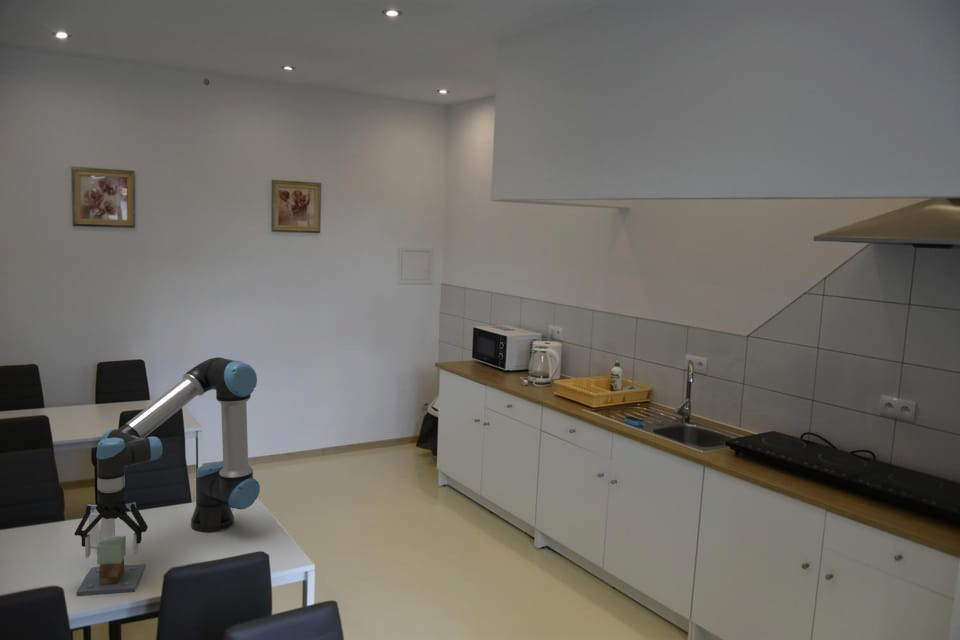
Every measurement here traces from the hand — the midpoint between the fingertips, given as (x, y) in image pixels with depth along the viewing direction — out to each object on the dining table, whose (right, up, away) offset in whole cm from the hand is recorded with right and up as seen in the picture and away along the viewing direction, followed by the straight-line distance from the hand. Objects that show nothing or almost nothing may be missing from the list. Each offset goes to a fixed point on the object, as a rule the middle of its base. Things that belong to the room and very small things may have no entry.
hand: (112, 554), depth 222 cm
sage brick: (0, -2, 0) cm, 2 cm away
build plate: (0, -9, +1) cm, 9 cm away
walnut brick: (0, -7, +1) cm, 8 cm away
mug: (-17, -5, +26) cm, 31 cm away
